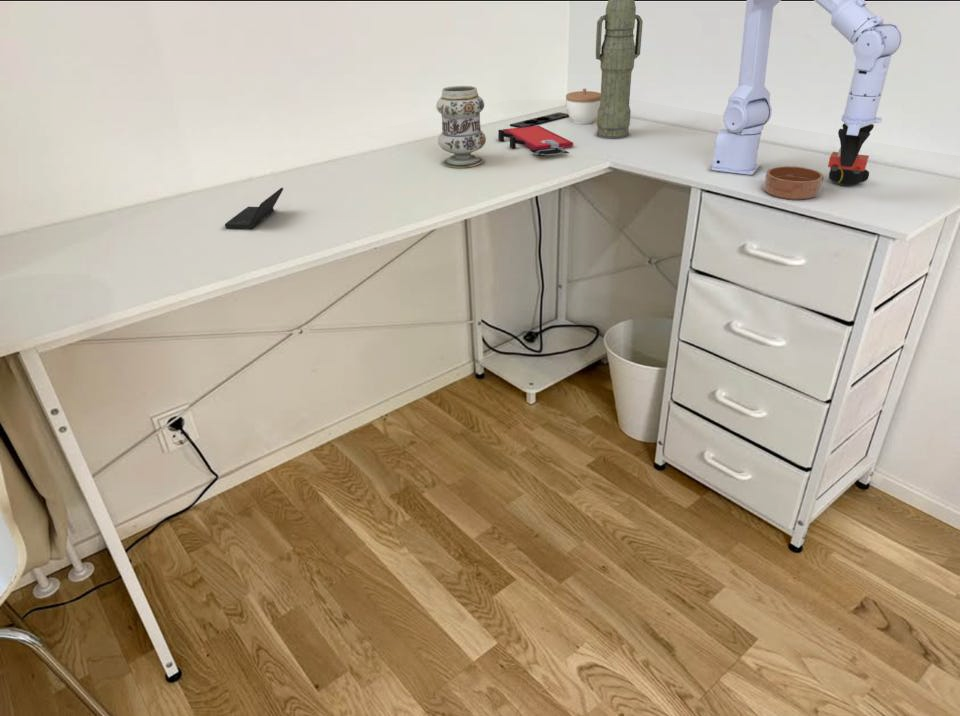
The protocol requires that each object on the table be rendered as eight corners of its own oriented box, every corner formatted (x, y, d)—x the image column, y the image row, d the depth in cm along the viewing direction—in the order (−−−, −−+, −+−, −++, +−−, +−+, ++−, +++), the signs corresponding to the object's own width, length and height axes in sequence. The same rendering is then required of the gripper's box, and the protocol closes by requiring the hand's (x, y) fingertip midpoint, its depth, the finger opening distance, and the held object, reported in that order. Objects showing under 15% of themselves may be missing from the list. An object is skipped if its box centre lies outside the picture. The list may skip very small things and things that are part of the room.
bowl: (758, 196, 149) (761, 177, 147) (769, 181, 157) (772, 163, 155) (814, 203, 144) (818, 184, 142) (823, 188, 152) (827, 170, 150)
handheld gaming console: (237, 203, 151) (256, 168, 146) (267, 221, 153) (287, 187, 148) (221, 230, 142) (241, 193, 137) (254, 248, 145) (275, 213, 139)
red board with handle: (532, 160, 176) (586, 154, 180) (533, 149, 174) (586, 143, 178) (490, 135, 200) (538, 130, 204) (490, 125, 199) (538, 120, 203)
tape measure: (868, 185, 152) (872, 168, 150) (842, 189, 151) (846, 172, 149) (845, 176, 158) (849, 160, 156) (820, 180, 156) (824, 163, 154)
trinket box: (564, 125, 207) (565, 92, 202) (566, 117, 216) (567, 85, 211) (600, 126, 205) (602, 92, 200) (601, 117, 214) (603, 85, 209)
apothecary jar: (478, 153, 184) (475, 81, 175) (492, 166, 174) (491, 90, 165) (434, 159, 181) (429, 86, 172) (446, 171, 171) (441, 95, 162)
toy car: (826, 170, 144) (831, 149, 142) (829, 165, 147) (834, 144, 144) (863, 174, 141) (868, 153, 139) (865, 169, 144) (870, 148, 141)
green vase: (639, 136, 194) (651, -5, 175) (599, 140, 191) (607, -3, 173) (625, 129, 201) (635, -8, 183) (587, 133, 199) (593, -5, 180)
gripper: (884, 102, 129) (865, 175, 136) (891, 88, 139) (873, 156, 146) (842, 99, 132) (826, 170, 139) (852, 85, 142) (836, 152, 150)
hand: (847, 163), depth 143 cm, fingers closed on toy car, 4 cm apart
